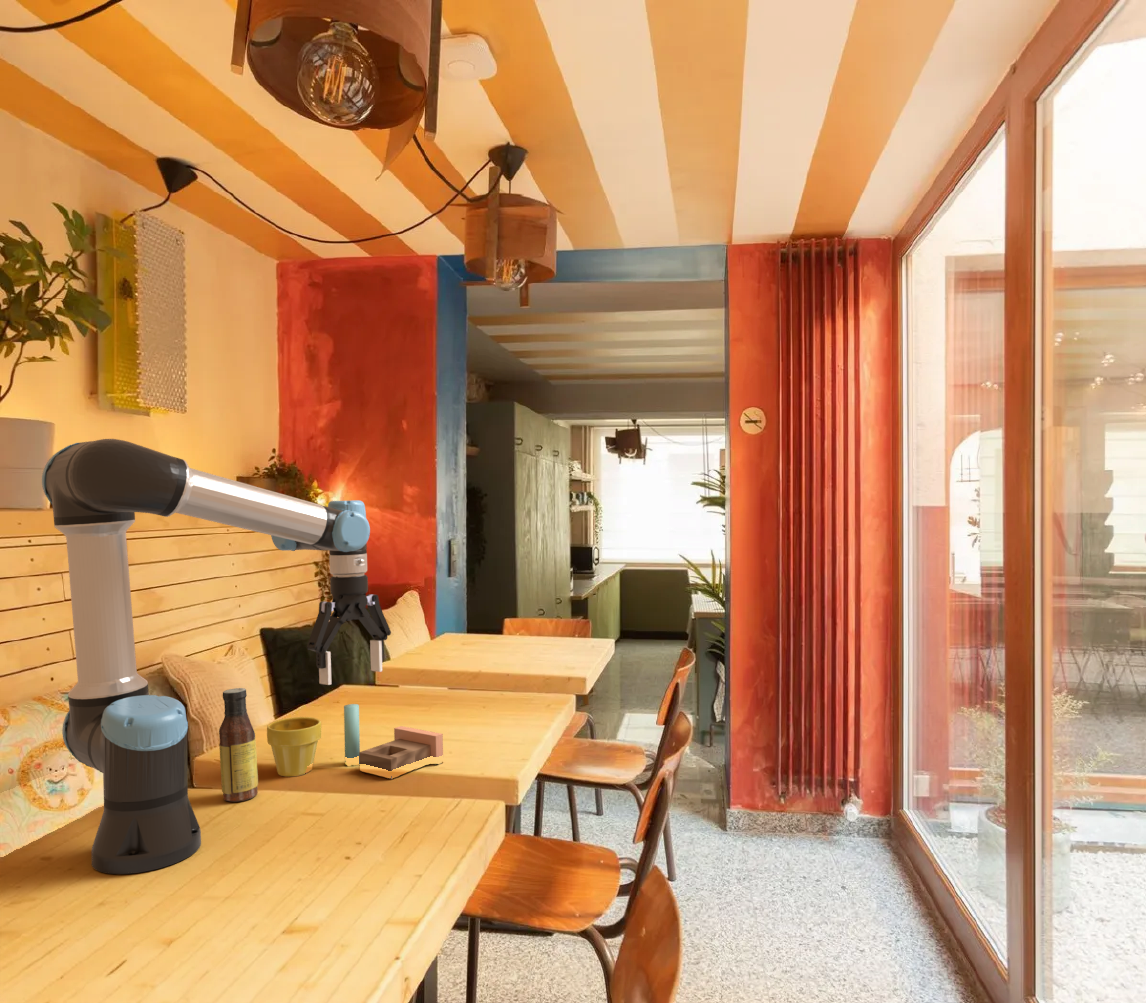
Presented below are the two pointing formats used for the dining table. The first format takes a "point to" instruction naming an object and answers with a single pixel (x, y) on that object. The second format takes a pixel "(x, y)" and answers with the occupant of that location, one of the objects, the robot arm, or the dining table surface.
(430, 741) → the wall
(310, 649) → the robot arm
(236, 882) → the dining table surface
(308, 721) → the plant pot
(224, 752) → the sauce bottle
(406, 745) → the block
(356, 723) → the dowel
